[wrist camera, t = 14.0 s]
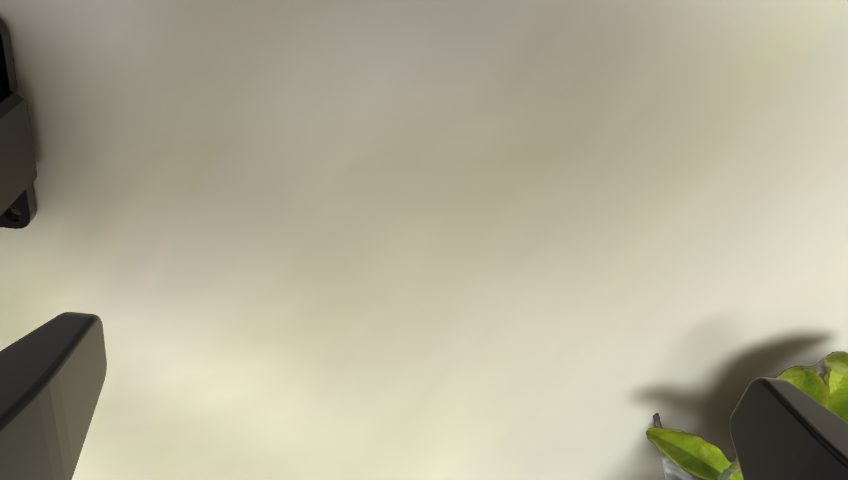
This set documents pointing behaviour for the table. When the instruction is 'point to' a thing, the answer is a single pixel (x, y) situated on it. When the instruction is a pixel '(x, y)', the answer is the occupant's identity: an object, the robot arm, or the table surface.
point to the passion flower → (717, 476)
